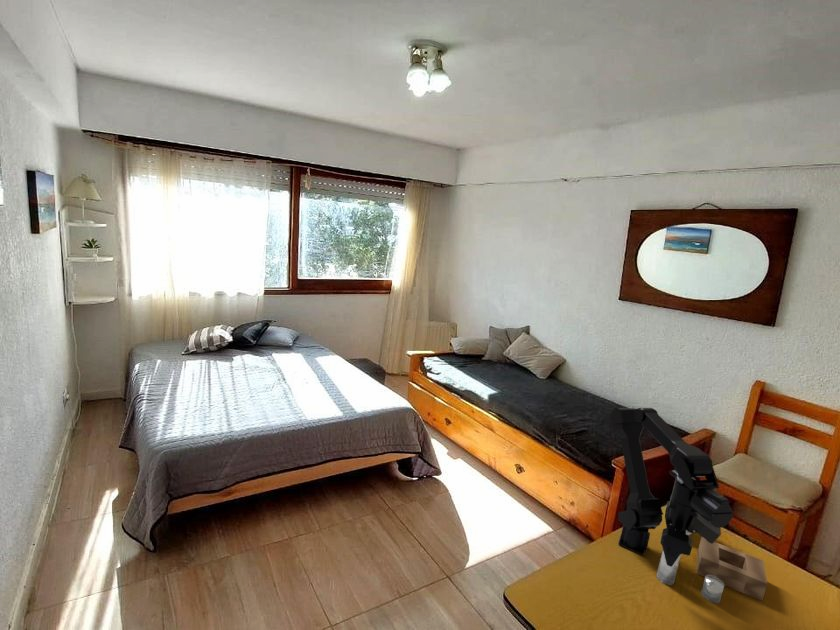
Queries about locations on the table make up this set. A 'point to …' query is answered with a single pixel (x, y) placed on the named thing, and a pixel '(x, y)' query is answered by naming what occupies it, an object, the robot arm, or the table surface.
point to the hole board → (732, 568)
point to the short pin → (712, 588)
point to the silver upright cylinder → (667, 570)
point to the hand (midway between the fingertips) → (670, 554)
